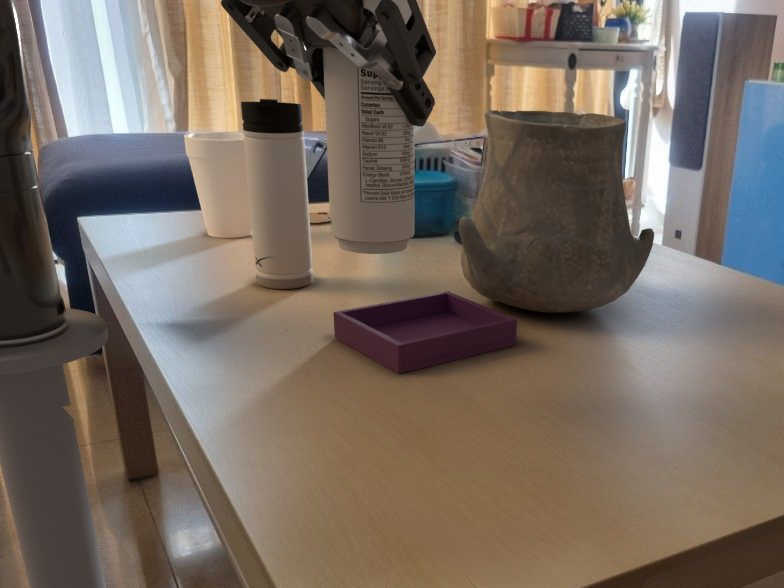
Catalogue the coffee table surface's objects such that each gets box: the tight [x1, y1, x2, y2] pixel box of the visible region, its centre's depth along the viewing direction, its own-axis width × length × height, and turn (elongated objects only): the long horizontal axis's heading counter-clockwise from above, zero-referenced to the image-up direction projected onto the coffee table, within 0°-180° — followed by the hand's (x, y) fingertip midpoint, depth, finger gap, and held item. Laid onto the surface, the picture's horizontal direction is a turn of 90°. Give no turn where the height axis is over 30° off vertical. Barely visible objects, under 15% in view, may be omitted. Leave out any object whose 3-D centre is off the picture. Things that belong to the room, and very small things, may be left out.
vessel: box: [458, 109, 655, 314], centre depth 90 cm, size 22×22×20 cm
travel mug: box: [240, 98, 314, 290], centre depth 92 cm, size 6×7×20 cm
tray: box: [332, 290, 518, 375], centre depth 79 cm, size 13×11×3 cm
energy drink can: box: [323, 23, 415, 255], centre depth 58 cm, size 6×6×15 cm
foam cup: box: [183, 131, 252, 239], centre depth 114 cm, size 10×9×13 cm
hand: (385, 111), depth 59 cm, fingers closed on energy drink can, 6 cm apart
